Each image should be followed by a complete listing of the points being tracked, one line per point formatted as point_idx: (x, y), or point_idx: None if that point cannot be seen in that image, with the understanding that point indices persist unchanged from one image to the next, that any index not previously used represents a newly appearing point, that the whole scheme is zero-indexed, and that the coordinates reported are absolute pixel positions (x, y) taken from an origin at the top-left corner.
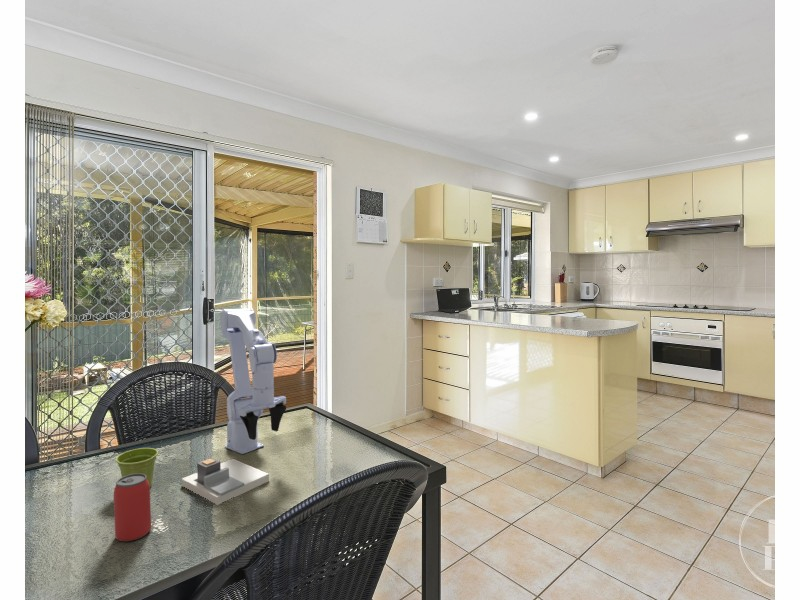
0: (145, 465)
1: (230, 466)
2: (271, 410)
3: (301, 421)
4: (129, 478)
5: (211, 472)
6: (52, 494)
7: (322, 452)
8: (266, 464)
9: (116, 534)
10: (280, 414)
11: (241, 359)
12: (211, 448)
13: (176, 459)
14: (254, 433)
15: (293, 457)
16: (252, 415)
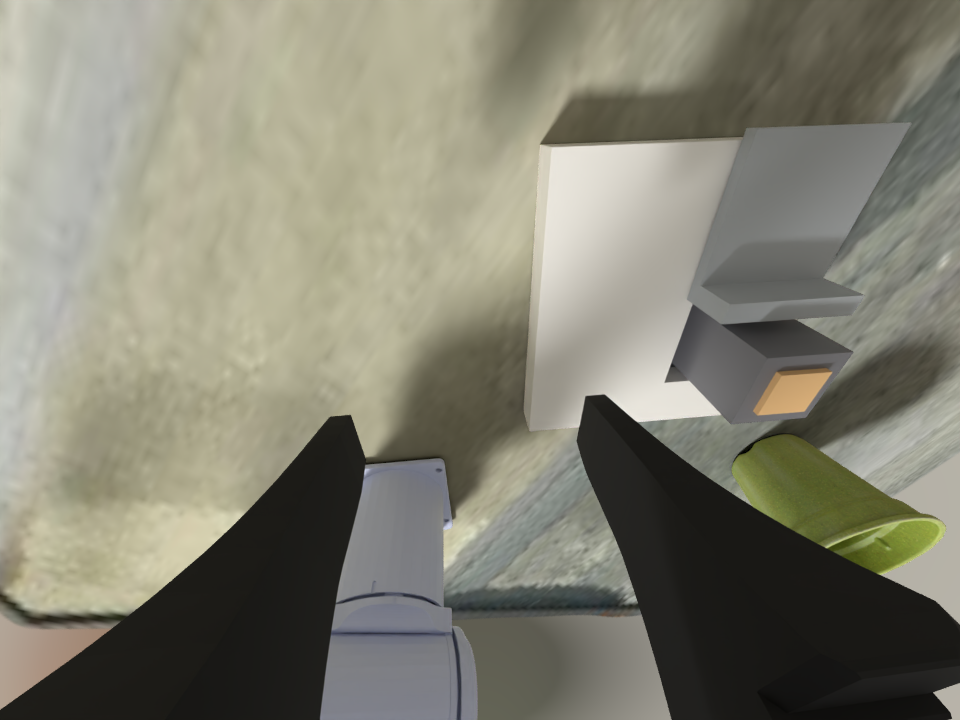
0: (878, 501)
1: (587, 381)
2: (303, 706)
3: (90, 550)
4: None
5: (785, 332)
6: None
7: (49, 215)
8: (424, 329)
9: None
10: (214, 599)
11: None
12: (482, 533)
13: (587, 527)
14: (639, 429)
15: (268, 296)
16: (815, 708)
